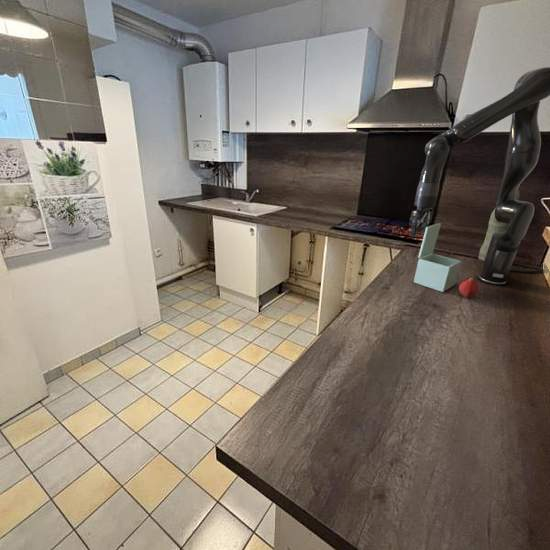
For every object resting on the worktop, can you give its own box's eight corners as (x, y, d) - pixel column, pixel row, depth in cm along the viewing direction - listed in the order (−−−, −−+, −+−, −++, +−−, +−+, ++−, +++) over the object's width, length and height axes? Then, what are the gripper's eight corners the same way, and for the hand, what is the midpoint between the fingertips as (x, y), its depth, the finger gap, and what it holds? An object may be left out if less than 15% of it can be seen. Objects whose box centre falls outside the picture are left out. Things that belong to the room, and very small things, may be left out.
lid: (441, 223, 117) (429, 221, 120) (428, 227, 110) (415, 224, 114) (433, 252, 122) (421, 249, 126) (420, 258, 115) (408, 254, 119)
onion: (453, 294, 110) (458, 274, 107) (467, 293, 111) (473, 274, 108) (463, 301, 105) (469, 281, 102) (478, 300, 106) (485, 280, 102)
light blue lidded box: (454, 284, 119) (461, 260, 115) (442, 292, 112) (449, 267, 108) (426, 275, 127) (431, 253, 123) (413, 282, 120) (418, 258, 116)
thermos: (501, 259, 148) (526, 188, 134) (494, 264, 141) (519, 190, 127) (482, 255, 154) (503, 186, 140) (474, 259, 147) (496, 188, 133)
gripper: (428, 196, 106) (418, 239, 113) (444, 194, 115) (434, 233, 121) (408, 194, 112) (400, 235, 118) (425, 191, 120) (417, 230, 126)
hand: (417, 234), depth 120 cm, fingers open, 8 cm apart
